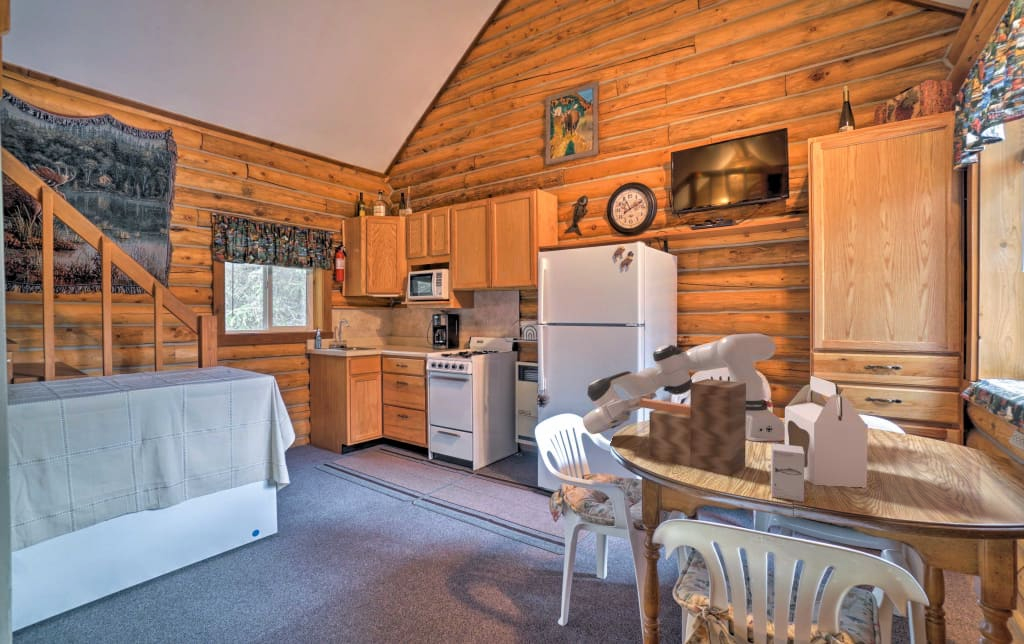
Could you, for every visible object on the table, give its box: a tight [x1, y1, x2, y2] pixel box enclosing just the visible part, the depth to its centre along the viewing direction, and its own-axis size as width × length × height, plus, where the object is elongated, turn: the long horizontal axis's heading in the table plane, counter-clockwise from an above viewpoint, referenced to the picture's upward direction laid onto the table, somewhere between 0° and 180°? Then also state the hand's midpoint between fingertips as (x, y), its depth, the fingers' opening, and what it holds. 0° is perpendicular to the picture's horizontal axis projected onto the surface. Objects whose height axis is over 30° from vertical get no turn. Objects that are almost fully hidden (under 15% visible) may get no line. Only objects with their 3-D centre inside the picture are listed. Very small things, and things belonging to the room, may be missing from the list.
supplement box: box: [770, 442, 805, 503], centre depth 124 cm, size 7×7×13 cm
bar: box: [636, 398, 690, 415], centre depth 159 cm, size 20×4×2 cm, turn 44°
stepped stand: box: [648, 378, 747, 477], centre depth 152 cm, size 26×12×26 cm, turn 44°
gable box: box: [784, 375, 869, 489], centre depth 140 cm, size 22×13×28 cm, turn 169°
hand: (648, 396), depth 164 cm, fingers open, 8 cm apart
